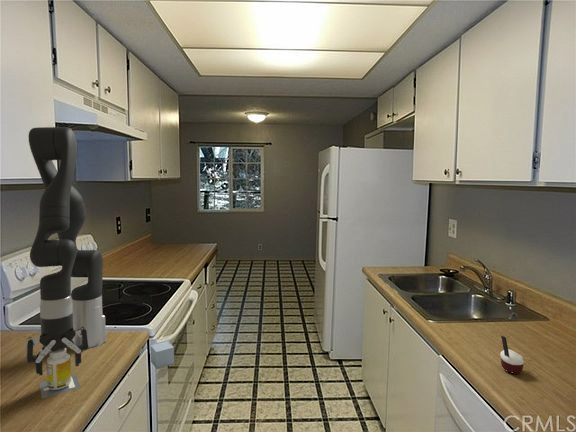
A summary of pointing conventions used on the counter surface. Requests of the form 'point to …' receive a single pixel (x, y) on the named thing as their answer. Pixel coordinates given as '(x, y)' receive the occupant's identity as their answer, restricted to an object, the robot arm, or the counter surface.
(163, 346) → the blue block
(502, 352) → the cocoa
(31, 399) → the counter surface
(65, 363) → the supplement bottle
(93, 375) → the counter surface
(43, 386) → the board
